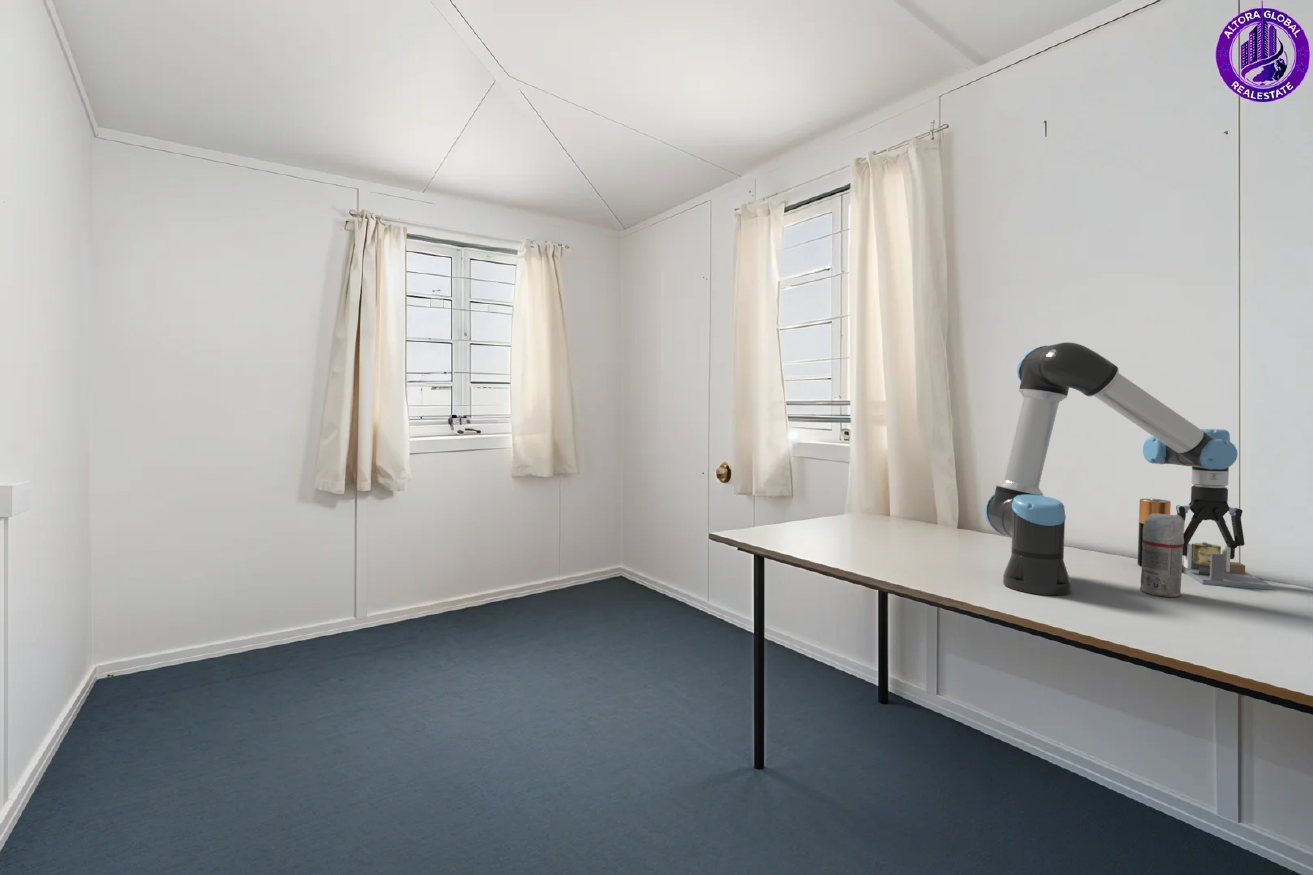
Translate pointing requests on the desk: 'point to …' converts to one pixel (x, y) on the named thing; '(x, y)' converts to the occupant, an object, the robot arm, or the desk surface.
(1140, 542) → the battery
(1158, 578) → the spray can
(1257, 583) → the base
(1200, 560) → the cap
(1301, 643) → the desk surface
